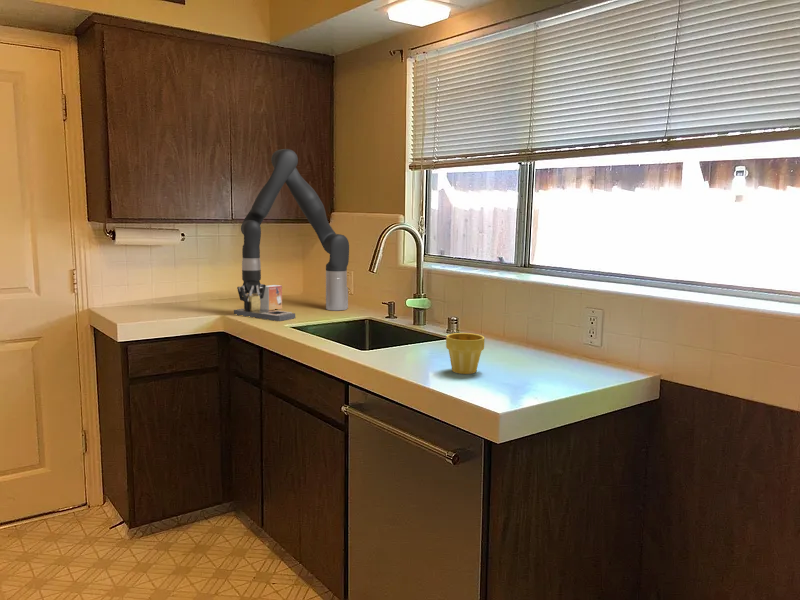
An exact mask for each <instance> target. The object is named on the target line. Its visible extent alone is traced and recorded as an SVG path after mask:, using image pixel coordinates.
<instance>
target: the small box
mask: <svg viewBox="0 0 800 600" xmlns="http://www.w3.org/2000/svg"><path fill="white" fill-rule="evenodd" d="M260 309H265V310H273V311H276V310H275V309H278V310H283V285H282V284H281V285H279V284H271V285H269V284H268V285H266V287H265V292H264V297H263V298H261V299H260Z"/></svg>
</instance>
